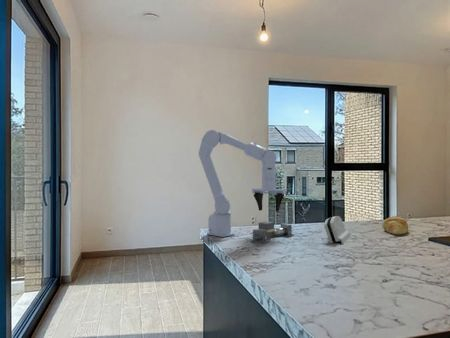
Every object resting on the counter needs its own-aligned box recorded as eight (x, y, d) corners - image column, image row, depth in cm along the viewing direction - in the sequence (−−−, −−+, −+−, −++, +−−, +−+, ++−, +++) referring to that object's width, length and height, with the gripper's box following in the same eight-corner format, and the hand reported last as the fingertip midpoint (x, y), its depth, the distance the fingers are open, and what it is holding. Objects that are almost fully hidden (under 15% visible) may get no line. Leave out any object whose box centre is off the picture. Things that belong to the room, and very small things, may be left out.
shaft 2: (278, 237, 146) (278, 226, 146) (269, 234, 151) (269, 224, 151) (293, 235, 149) (293, 225, 149) (284, 233, 155) (284, 222, 155)
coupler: (265, 235, 150) (265, 221, 150) (274, 237, 147) (274, 222, 147) (258, 237, 147) (258, 222, 146) (267, 238, 143) (267, 223, 143)
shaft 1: (256, 238, 145) (256, 227, 145) (272, 239, 142) (272, 228, 142) (250, 241, 138) (250, 230, 138) (266, 243, 135) (266, 231, 135)
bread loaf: (404, 245, 145) (415, 228, 144) (380, 232, 148) (390, 215, 147) (400, 234, 165) (409, 219, 164) (379, 223, 168) (387, 208, 167)
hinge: (343, 244, 133) (333, 218, 134) (330, 247, 135) (321, 221, 136) (351, 235, 147) (342, 212, 149) (339, 238, 150) (331, 215, 151)
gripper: (249, 178, 152) (249, 210, 153) (281, 179, 146) (282, 212, 146) (255, 178, 159) (256, 209, 159) (287, 178, 152) (287, 210, 152)
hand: (268, 210), depth 153 cm, fingers open, 7 cm apart
